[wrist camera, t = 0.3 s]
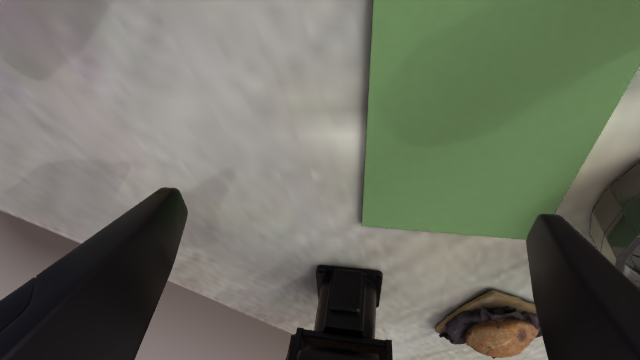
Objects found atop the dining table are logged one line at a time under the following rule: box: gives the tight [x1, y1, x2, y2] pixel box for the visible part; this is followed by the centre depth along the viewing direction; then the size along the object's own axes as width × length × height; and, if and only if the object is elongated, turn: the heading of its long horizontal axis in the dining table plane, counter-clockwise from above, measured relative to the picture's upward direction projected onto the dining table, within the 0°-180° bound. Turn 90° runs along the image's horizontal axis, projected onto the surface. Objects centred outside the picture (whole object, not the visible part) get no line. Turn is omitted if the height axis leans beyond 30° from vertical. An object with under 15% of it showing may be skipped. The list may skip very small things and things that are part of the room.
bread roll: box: [435, 290, 542, 359], centre depth 39 cm, size 11×8×4 cm
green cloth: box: [362, 0, 640, 240], centre depth 24 cm, size 20×14×1 cm
